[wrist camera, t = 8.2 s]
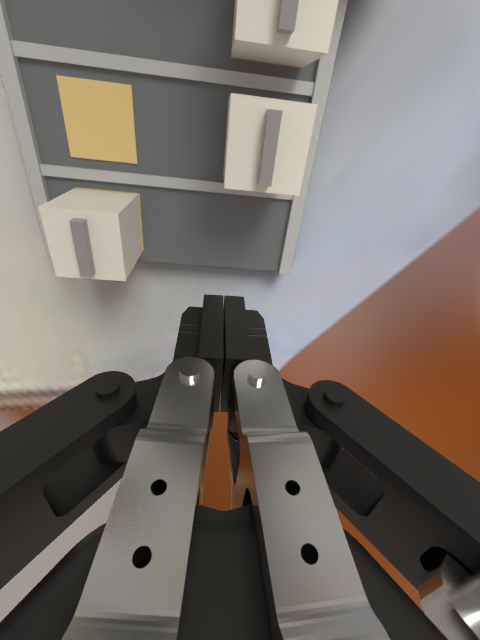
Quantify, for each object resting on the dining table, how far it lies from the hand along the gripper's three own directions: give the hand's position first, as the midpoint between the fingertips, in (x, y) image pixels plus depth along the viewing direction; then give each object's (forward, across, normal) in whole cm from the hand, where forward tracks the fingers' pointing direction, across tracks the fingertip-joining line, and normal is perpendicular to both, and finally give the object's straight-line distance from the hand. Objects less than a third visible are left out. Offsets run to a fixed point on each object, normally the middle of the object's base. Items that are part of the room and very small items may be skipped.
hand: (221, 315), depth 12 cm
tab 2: (+11, -2, -11) cm, 15 cm away
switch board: (+13, +3, -5) cm, 14 cm away
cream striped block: (+11, +7, 0) cm, 13 cm away
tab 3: (+11, -2, -5) cm, 12 cm away
